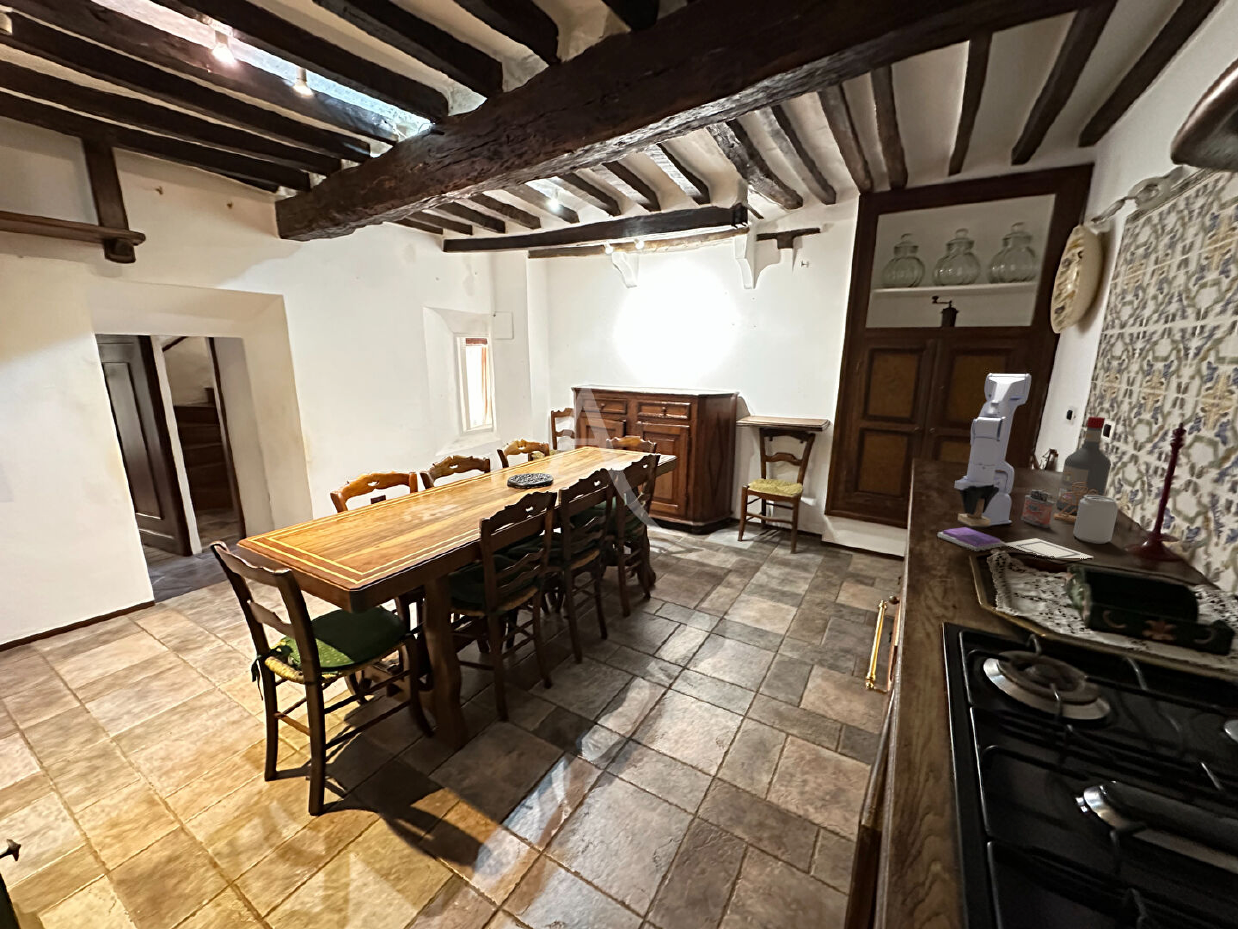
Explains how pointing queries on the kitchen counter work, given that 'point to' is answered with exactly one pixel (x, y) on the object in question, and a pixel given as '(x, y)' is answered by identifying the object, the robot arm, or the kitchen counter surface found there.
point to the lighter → (1038, 508)
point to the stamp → (975, 517)
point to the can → (1095, 519)
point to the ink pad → (970, 539)
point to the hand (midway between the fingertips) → (974, 512)
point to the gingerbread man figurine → (1068, 516)
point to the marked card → (1046, 549)
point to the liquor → (1085, 467)
